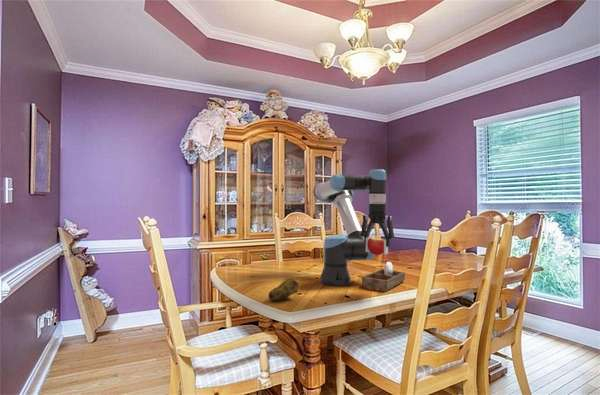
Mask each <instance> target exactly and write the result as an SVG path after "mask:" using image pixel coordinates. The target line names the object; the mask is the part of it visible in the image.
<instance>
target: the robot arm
mask: <svg viewBox="0 0 600 395" xmlns="http://www.w3.org/2000/svg"><path fill="white" fill-rule="evenodd" d="M368 172H369V173H368V174H366V175H365V174H341V173H339V174H332V176H331V177H330V180H327V181H326V182H325V181H324V182H319V183H317V184H315V186H314V187H313V189H312V190H313V191H312V194H313V196H314V198H315V199H316V200H317V201H319V202H321V203H332V206H333V207H334V208H337V211H338V214H339V216H340V219H341V222H342V225H343V228H344V230H345V233H346V234H335V235H330V236H327V237H325V238H324V241H323V268H322V270H321V275H320V283H321V284H323V285H327V286H335V287H337V286H338V287H339V286H341V287H342V286H347V285H350V284H351V283H352V279H351V274H350V272H349V268H348V261H350V262H351V261H368V260H372V259H373V258H374V257H375V255H374V254H372V253H370V251H369V249H368V246H367V242H368V239H370V238H374V237H373V236H370V234H371V232H372V230H373V228H374V225H376V224H378V225H379V226H380V228H381V231H382V233H383V236H384V238H385V239H384V253H383V255H387V254H389V247H390V246H391V239H395V233H394V228H393V227H394V226H393V216H392V215H391V216H390V215H389V216H388V215H387V214H386V210H387V208H386V200H387V198H386V197H387V194H386V193H387V172H386V170H384V169H382V168H381V169H377V168H376V169H370V170H369V171H368ZM354 191H356V192H359V191H360V192H361V191H362V192H368V198H369V199H368V202H369V204H368V214H363V215H362V224H361V223H360V220H359V218H358V216H357V213H356V211H355V208H354V205H353V203H352V202H353V200H354V196H355V195H354V194H355V193H354ZM368 220H369V221H368ZM385 220H386V223H385ZM386 225H387V226H386Z"/></svg>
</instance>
